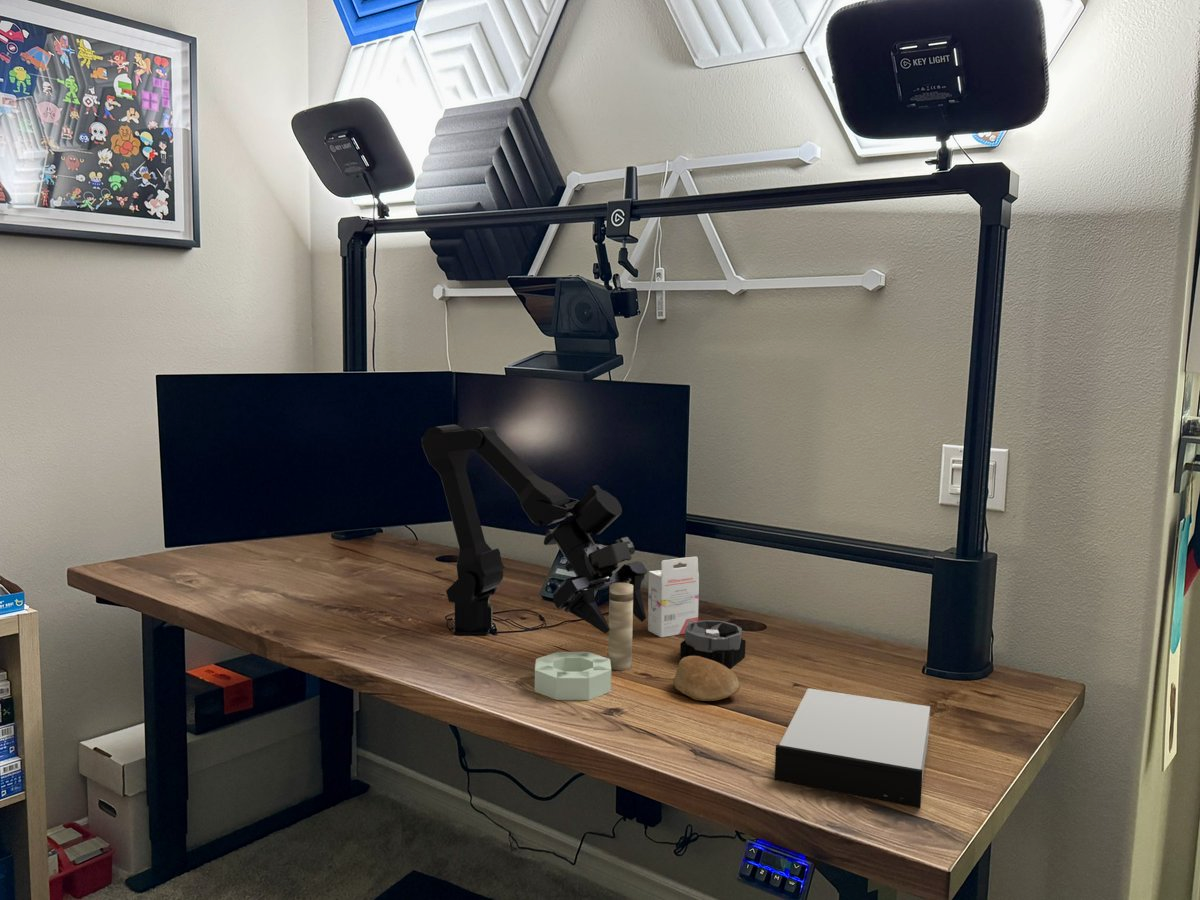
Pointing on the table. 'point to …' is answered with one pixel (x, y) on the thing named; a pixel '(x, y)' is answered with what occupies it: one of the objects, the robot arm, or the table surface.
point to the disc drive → (856, 747)
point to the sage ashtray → (572, 675)
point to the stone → (705, 679)
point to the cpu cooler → (714, 642)
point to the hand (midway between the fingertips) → (626, 626)
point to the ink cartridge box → (673, 597)
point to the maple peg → (620, 625)
